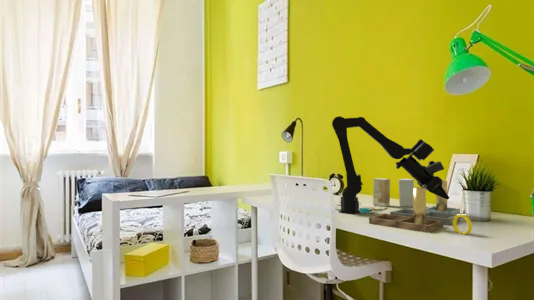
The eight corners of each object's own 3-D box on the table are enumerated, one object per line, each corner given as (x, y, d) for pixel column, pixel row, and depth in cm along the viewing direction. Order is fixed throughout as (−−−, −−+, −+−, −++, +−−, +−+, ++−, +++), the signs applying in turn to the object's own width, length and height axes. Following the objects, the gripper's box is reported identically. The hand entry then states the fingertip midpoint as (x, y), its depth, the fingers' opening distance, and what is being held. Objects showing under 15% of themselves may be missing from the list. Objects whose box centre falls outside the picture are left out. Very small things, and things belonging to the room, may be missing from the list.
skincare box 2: (415, 205, 168) (414, 178, 168) (413, 207, 164) (413, 179, 164) (400, 205, 171) (400, 178, 171) (398, 206, 167) (398, 179, 167)
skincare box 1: (372, 205, 171) (372, 178, 171) (377, 204, 174) (377, 177, 174) (385, 207, 166) (385, 179, 166) (390, 205, 169) (390, 178, 169)
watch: (451, 232, 117) (449, 213, 118) (457, 232, 118) (456, 213, 119) (467, 235, 112) (466, 215, 112) (474, 234, 113) (472, 214, 113)
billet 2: (434, 214, 147) (434, 181, 147) (438, 213, 150) (438, 180, 150) (445, 215, 144) (444, 181, 144) (449, 214, 147) (448, 181, 147)
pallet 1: (369, 223, 132) (369, 217, 132) (385, 218, 139) (384, 213, 139) (429, 232, 117) (429, 226, 117) (443, 227, 124) (443, 221, 124)
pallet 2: (390, 217, 142) (390, 212, 142) (404, 213, 150) (403, 208, 150) (448, 225, 127) (448, 219, 127) (460, 220, 135) (460, 214, 135)
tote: (421, 214, 147) (421, 209, 147) (433, 210, 155) (433, 206, 155) (451, 218, 139) (451, 212, 139) (461, 214, 147) (461, 208, 147)
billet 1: (411, 227, 124) (410, 188, 124) (416, 225, 127) (415, 187, 127) (423, 229, 122) (422, 189, 121) (428, 227, 124) (427, 187, 124)
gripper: (435, 154, 138) (468, 185, 136) (425, 153, 157) (454, 180, 155) (413, 176, 140) (445, 206, 138) (405, 172, 158) (433, 199, 156)
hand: (445, 197), depth 147 cm, fingers open, 9 cm apart
